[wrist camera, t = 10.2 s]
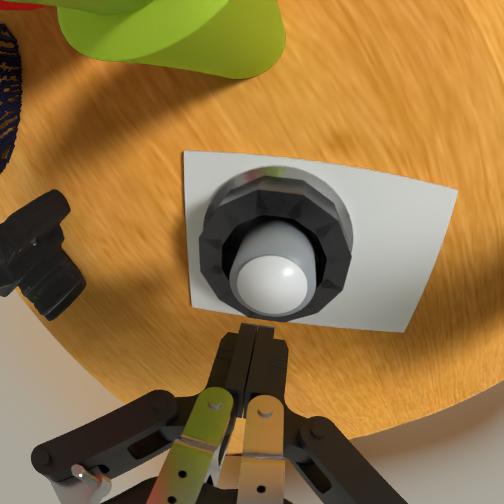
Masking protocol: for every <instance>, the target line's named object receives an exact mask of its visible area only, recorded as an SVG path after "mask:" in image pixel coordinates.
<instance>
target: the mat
mask: <svg viewBox="0 0 504 504" xmlns="http://www.w3.org/2000/svg"><path fill="white" fill-rule="evenodd" d="M269 165H284V166H290V167H296V168H299V169H302V170H305V171H307V172H310V173H312V174H314V175H316V176H317V177H319V178H320V179H322V180H324V181H325V182H326V183H327V184H328V185H330V186H331V187H332V188H333V189H334V190H335V191H336V193H337V194H338V195H339V196H340V198H341V199H342V201H343V202H344V204H345V206H346V208H347V210H348V213H349V215H350V219H351V222H352V227H353V248H352V253H351V255H352V258H351V262H350V266H349V270H348V274H347V277H346V281H345V285H344V288H343V290H342V291H341V292H340V293H339V294H338V295H337V296H336V297H335V298H334V299H333V300H332V301H331V302H330V303H328V304H327V305H326V306H325V307H324V308H323V309H322V310H321V311H320V312H318V313H316V314H313V315H309V316H306V317H302V318H299V319H295V320H291V321H288V322H293V323H301V324H310V325H319V326H328V327H338V328H349V329H360V330H372V331H386V332H402V333H404V332H405V330H406V328H407V326H408V324H409V322H410V320H411V318H412V315H413V313H414V311H415V309H416V307H417V305H418V303H419V300H420V298H421V296H422V294H423V291H424V289H425V287H426V284H427V282H428V279H429V277H430V275H431V272H432V270H433V267H434V264H435V262H436V259H437V257H438V254H439V251H440V248H441V245H442V243H443V240H444V237H445V234H446V231H447V228H448V225H449V221H450V218H451V215H452V212H453V208H454V205H455V201H456V198H457V194H458V190H457V189H455V188H451V187H447V186H443V185H439V184H435V183H431V182H427V181H423V180H419V179H414V178H410V177H405V176H401V175H396V174H391V173H386V172H381V171H376V170H370V169H365V168H359V167H353V166H347V165H341V164H335V163H328V162H321V161H314V160H306V159H298V158H289V157H280V156H270V155H260V154H248V153H234V152H218V151H197V150H185V151H184V186H185V213H186V233H187V250H188V265H189V278H190V290H191V301H192V307H194V308H199V309H205V310H211V311H217V312H223V313H229V314H235V315H242V316H246V315H244V314H242V313H240V312H239V311H237V310H235V309H234V308H232V307H230V306H229V305H227V304H225V303H224V302H222V301H220V300H219V299H218V297H217V296H216V294H215V293H214V291H213V290H212V288H211V287H210V285H209V284H208V282H207V281H206V279H205V278H204V276H203V275H202V273H201V272H200V257H199V236H200V235H201V233H202V231H203V223H204V218H205V214H206V211H207V208H208V206H209V204H210V202H211V201H212V199H213V198H214V196H215V195H216V193H217V192H218V191H219V190H220V189H221V188H222V187H223V186H224V185H225V184H226V183H227V182H228V181H229V180H231V179H232V178H233V177H235V176H237V175H239V174H240V173H242V172H245V171H247V170H250V169H253V168H257V167H261V166H269Z"/></svg>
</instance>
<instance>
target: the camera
mask: <svg viewBox="0 0 504 504" xmlns="http://www.w3.org/2000/svg"><path fill="white" fill-rule="evenodd" d="M69 212H70V206H69V204H68V202H67V200H66V198H65V197H64V196H63V194H62V193H60V192H59V191H58V190H55V189H53V190H51V191H49V192H47V193H45V194H43V195H41V196H40V197H38V198H36V199H35V200H33V201H32V202H30V203H28V204H27V205H25V206H24V207H22V208H20V209H19V210H17V211H16V212H14V213H13V214H11V215H10V216H9V217H8V218H7V220H6V221H5V222H3V223H1V224H0V296H3V297H6V296H8V295H9V294H10V293H11V292H12V291H13V290H14V289H15V288H16V287H17V286H19V288H20V289H21V292H22V294H23V295H24V296H25V297H27V298H28V299H29V300H30V301H31V302H32V303H34V306H35V308H36V309H37V310H38V311H39V313H40V314H41V315H43V316H45V317H46V319H47V320H48V321H52V320H54V319H56V318H57V317H58V316H59V315H60V314H61V313H62V312H63V311H64V310H65V309H66V308H68V307H69V306H70V305H71V304H72V302H73V301H74V300H75V299H76V298H77V297H78V296H79V295H80V294H81V292H82V291H83V290H84V288H85V286H86V281H85V280H84V278H83V277H82V275H81V273H80V271H79V270H78V269H77V268H76V266H75V265H74V264H73V263H72V261H71V260H70V259H69V258H68V256H67V255H66V254H65V253H64V252H63V251H62V250H61V243H62V242H63V241H64V236H63V232H62V229H61V227H60V222H61V221H62V220H63V219H64V218H65V217H66V216H67V214H68V213H69Z"/></svg>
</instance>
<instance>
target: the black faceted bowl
mask: <svg viewBox="0 0 504 504" xmlns="http://www.w3.org/2000/svg"><path fill="white" fill-rule="evenodd" d="M261 215H270V216H278V217H286V218H293V219H295V220H296V221H298V222H299V223H301V224H302V225H303V226H305V227H306V228H308V229H309V230H310V231H311V232H312V234H313V239H314V254H315V272H316V289H315V293H314V295H313V297H312V299H311V300H310V302H309V303H308V304H307V305H306V306H305V307H304V308H302V309H301V310H299V311H297V312H295V313H293V314H290V315H286V316H279V317H272V316H265V315H261V314H258V313H255V312H253V311H251V310H249V309H247V308H246V307H244V306H243V305H242V304H241V303H240V302H239V301H238V300H237V299H236V297H235V296H234V294H233V292H232V290H231V287H230V280H229V278H230V272H231V268H232V266H233V263H234V261H235V258H236V255H237V253H238V250H239V247H240V245H241V242H242V240H243V237H244V234H245V232H246V229H247V227H248V226H249V224H250V223H251V222H252V220H254V219H255V218H256V217H258V216H261ZM352 248H353V227H352V222H351V219H350V215H349V213H348V210H347V208H346V206H345V204H344V202H343V201H342V199H341V198H340V196H339V195H338V194H337V193H336V191H335V190H334V189H333V188H332V187H331V186H330V185H328V184H327V183H326V182H325V181H324V180H322V179H320V178H319V177H317V176H316V175H314V174H312V173H310V172H307V171H305V170H302V169H299V168H296V167H290V166H284V165H269V166H261V167H257V168H253V169H250V170H247V171H245V172H242V173H240V174H239V175H237V176H235V177H233V178H232V179H231V180H229V181H228V182H227V183H226V184H225V185H224V186H223V187H222V188H221V189H220V190H219V191H218V192H217V193H216V195H215V196H214V198H213V199H212V201H211V202H210V204H209V206H208V208H207V211H206V214H205V218H204V223H203V231H202V233H201V235H200V236H199V257H200V272H201V273H202V275H203V276H204V278H205V279H206V281H207V282H208V284H209V285H210V287H211V288H212V290H213V291H214V293H215V294H216V296H217V297H218V299H219V300H220V301H222V302H224V303H225V304H227V305H229V306H230V307H232V308H234V309H235V310H237V311H239V312H240V313H242V314H244V315H246V316H247V317H249V318H255V319H262V320H270V321H277V322H288V321H291V320H295V319H299V318H302V317H306V316H309V315H313V314H316V313H318V312H320V311H321V310H322V309H323V308H324V307H325V306H326V305H327V304H328V303H330V302H331V301H332V300H333V299H334V298H335V297H336V296H337V295H338V294H339V293H340V292H341V291H342V290H343V288H344V285H345V281H346V277H347V274H348V270H349V266H350V262H351V258H352V255H351V253H352Z"/></svg>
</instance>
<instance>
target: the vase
mask: <svg viewBox="0 0 504 504" xmlns="http://www.w3.org/2000/svg"><path fill="white" fill-rule="evenodd" d="M45 6H49V5H42V4H32V3H19V2H7V1H3V0H0V10H34V9H38V8H41V7H45Z"/></svg>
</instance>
